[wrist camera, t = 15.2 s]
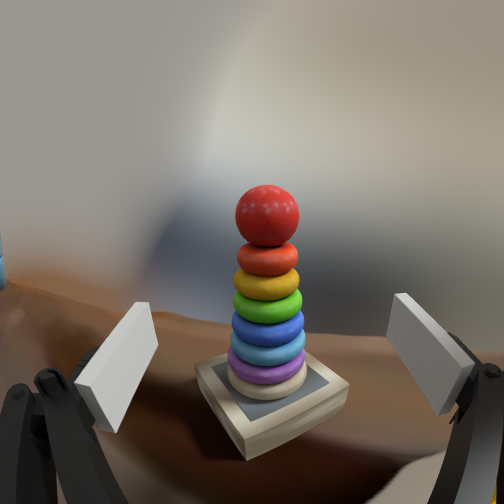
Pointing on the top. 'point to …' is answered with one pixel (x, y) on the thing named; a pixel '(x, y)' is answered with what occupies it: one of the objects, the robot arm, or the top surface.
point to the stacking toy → (267, 299)
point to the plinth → (270, 405)
